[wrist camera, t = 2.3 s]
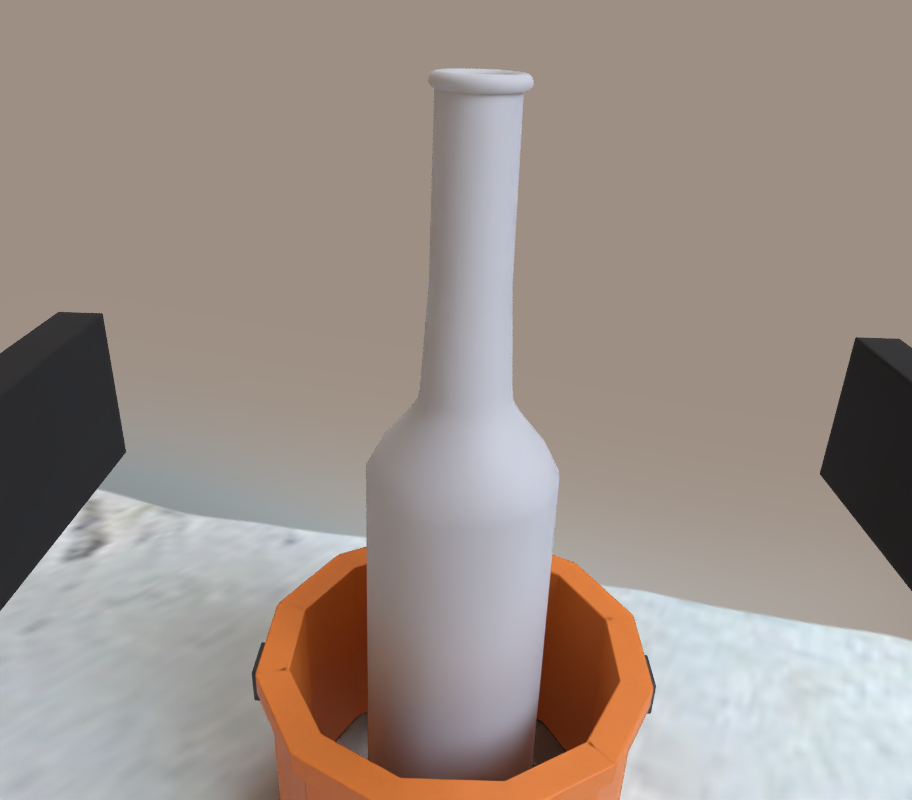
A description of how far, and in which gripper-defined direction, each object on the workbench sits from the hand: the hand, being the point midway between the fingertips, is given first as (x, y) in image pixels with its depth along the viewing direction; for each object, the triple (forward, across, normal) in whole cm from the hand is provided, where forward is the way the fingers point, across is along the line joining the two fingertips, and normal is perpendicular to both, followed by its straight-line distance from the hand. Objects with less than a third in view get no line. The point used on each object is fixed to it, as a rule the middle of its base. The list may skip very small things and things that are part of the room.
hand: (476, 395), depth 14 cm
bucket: (+10, 0, -23) cm, 25 cm away
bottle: (+10, 0, -23) cm, 25 cm away
